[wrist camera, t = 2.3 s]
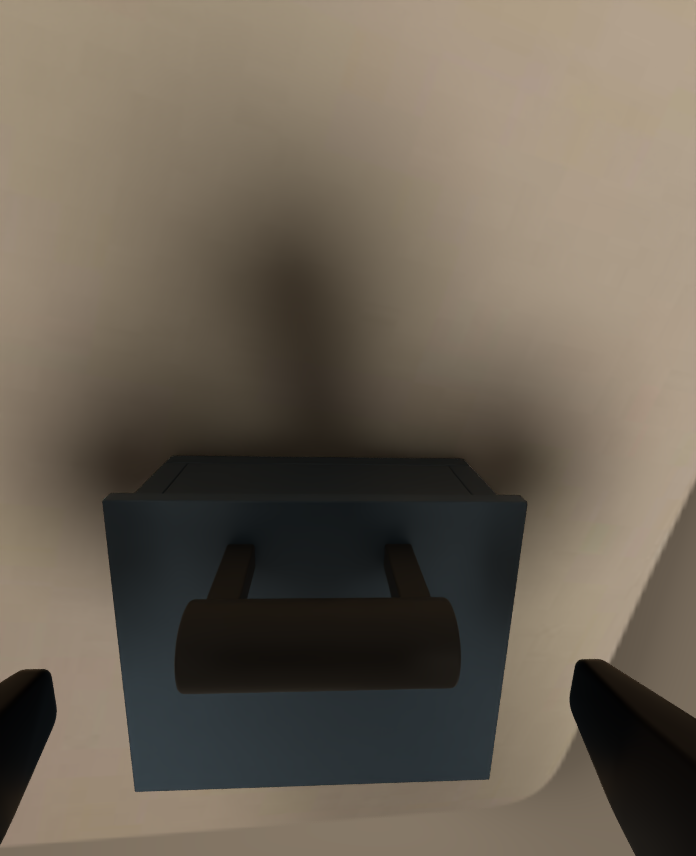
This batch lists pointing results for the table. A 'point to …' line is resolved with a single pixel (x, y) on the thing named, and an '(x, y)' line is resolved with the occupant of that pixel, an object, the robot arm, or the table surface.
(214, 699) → the lid
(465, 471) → the box
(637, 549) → the table surface
